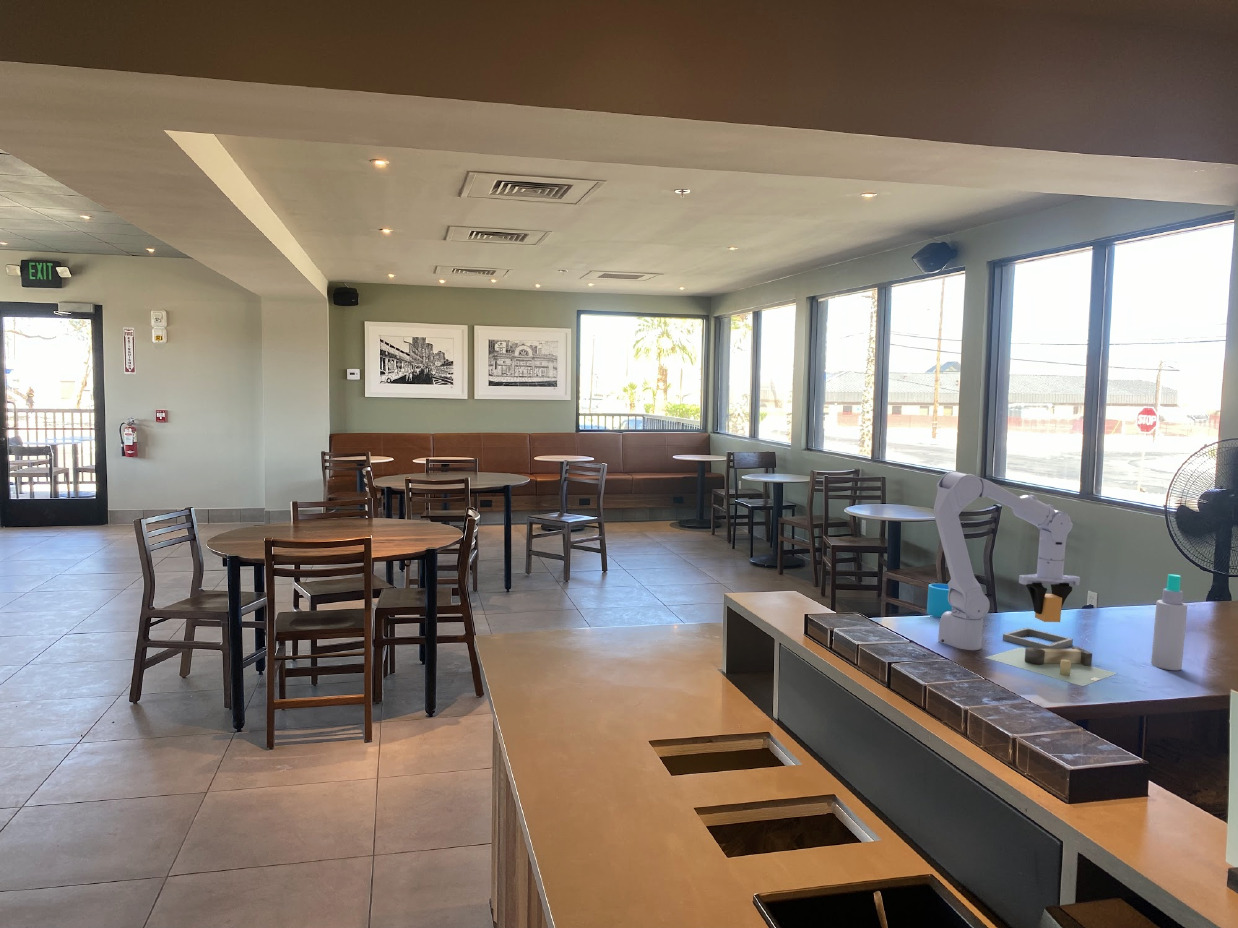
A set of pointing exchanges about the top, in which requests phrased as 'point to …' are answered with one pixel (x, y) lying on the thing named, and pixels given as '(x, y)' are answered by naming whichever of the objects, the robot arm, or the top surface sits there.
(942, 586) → the mug
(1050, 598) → the orange block
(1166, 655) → the spray bottle
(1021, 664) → the base plate
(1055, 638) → the tray
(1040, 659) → the lever
